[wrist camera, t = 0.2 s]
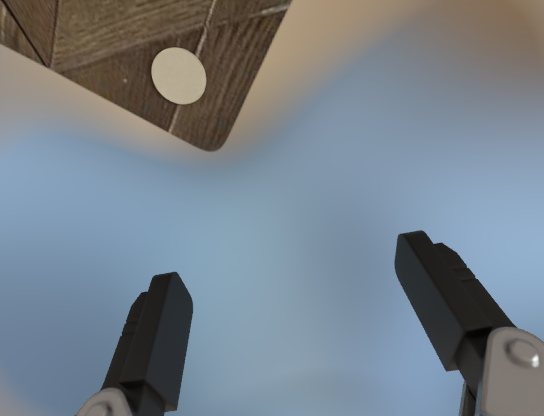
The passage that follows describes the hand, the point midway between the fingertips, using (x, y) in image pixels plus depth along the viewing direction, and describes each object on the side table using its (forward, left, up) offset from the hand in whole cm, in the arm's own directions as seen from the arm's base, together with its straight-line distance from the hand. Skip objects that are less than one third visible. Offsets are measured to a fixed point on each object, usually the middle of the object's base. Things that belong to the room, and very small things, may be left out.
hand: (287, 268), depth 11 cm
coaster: (-2, -9, -29) cm, 31 cm away
